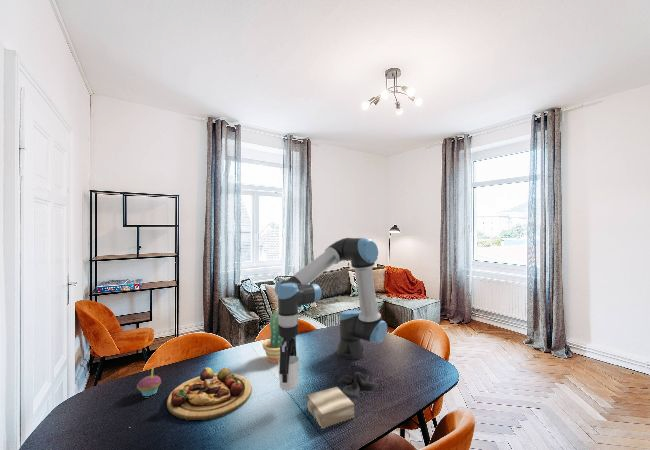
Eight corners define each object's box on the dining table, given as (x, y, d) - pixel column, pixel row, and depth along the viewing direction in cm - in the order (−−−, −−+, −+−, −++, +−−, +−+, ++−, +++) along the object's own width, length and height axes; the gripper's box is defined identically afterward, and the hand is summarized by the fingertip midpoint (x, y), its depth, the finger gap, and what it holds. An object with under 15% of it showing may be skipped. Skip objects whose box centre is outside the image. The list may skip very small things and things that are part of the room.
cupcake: (165, 390, 121) (166, 362, 122) (147, 402, 113) (147, 371, 114) (150, 387, 124) (151, 359, 124) (131, 398, 116) (132, 368, 116)
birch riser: (307, 408, 110) (307, 394, 110) (336, 399, 116) (336, 386, 116) (322, 429, 99) (322, 414, 99) (354, 417, 104) (354, 404, 105)
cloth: (343, 402, 115) (343, 387, 115) (330, 379, 133) (330, 365, 133) (393, 394, 120) (393, 379, 121) (375, 373, 138) (375, 360, 138)
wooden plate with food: (165, 434, 96) (166, 409, 96) (167, 386, 125) (168, 367, 125) (260, 408, 111) (260, 387, 111) (242, 371, 139) (243, 354, 140)
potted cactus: (296, 360, 150) (297, 312, 150) (269, 368, 141) (269, 317, 141) (283, 350, 163) (284, 305, 163) (257, 356, 154) (257, 309, 154)
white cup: (295, 392, 106) (295, 365, 106) (275, 390, 108) (275, 363, 108) (301, 381, 114) (301, 355, 114) (282, 379, 115) (282, 354, 115)
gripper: (286, 315, 121) (286, 369, 121) (269, 333, 101) (270, 398, 101) (303, 316, 120) (304, 371, 120) (290, 334, 100) (290, 400, 100)
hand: (288, 383), depth 111 cm, fingers closed on white cup, 8 cm apart
